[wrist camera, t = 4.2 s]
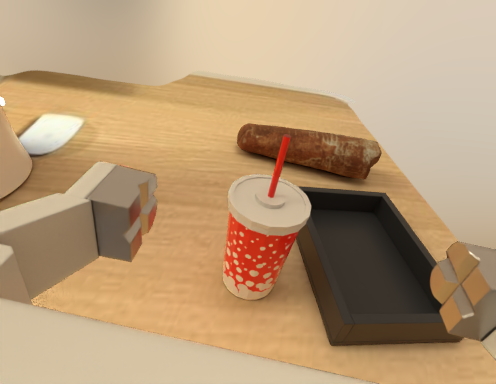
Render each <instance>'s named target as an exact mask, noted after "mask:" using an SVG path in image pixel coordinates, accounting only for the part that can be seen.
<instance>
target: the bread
mask: <svg viewBox="0 0 496 384" xmlns="http://www.w3.org/2000/svg"><path fill="white" fill-rule="evenodd" d="M284 134H288V135H290V136H291V138H290V142H289V145H288V149H287V152H286V156H285V160H284V161H286V162H291V163H296V164H300V165H304V166H309V167H313V168H317V169H320V170H325V171H328V172H332V173H335V174H339V175H343V176H347V177H351V178H360V179H366V178H367V176H368V174H369V172H370V168H371V167H372V166H373V165H374V164H376V163H377V162H378V160H379V158H380V156H381V150H380V147H379V146H378V143H377V142H375V141H372V140H366V139H362V138H356V137H349V136H344V135H336V134H330V133H322V132H316V131H310V130H300V129H292V128H285V127H278V126H267V125H257V124H249V123H248V124H246V125H244V126H243V127H242V128H241V129H240V131H239V133H238V138H237V144H238V146H239V147H240V148H241V149H242V150H245V151H249V152H253V153H257V154H261V155H265V156H269V157H271V158H275V159H277V158H278V155H279V151H280V147H281V143H282V140H283V136H284Z"/></svg>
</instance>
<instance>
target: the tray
mask: <svg viewBox="0 0 496 384" xmlns="http://www.w3.org/2000/svg"><path fill="white" fill-rule="evenodd" d="M298 187H299V186H298ZM299 188H300V189H301V190H302V191H303V192H304V193H305V194H306V195H307V197H308V199H309V201H310V204H311V211H310V216H309V219H308V220H307V222H306V224H305V225H304V226H303V227H302V228H301V229H300V230H299V232H298V234H297V236H296V239H297V242H298V245H299V249H300V252H301V255H302V258H303V261H304V264H305V267H306V270H307V273H308V276H309V279H310V282H311V285H312V288H313V292H314V295H315V298H316V301H317V304H318V307H319V310H320V313H321V316H322V319H323V322H324V325H325V328H326V331H327V335H328V338H329V341H330V344H331V345H364V344H399V343H434V342H459V341H461V340H462V338H464V337H461V336H457V335H453V334H449V333H448V331H447V329H446V326H445V324H444V321H443V319H442V316H441V314H440V311H439V310H440V308H441V306H442V304H441V303H440V302H439V301H438V300H437V299H436V298H435V297H434V296H433V294H432V291H431V288H430V277H431V272H432V270H433V269H434V267H435V266H436V264H437V263H436V261H435V260H434V259H433V257H432V256H431V254H430V253H429V252H428V250H427V249H426V248H425V246H424V245H423V244H422V242H421V241H420V239H419V238H418V237H417V235H416V234H415V233H414V231H413V230H412V229H411V227H410V226H409V224H408V223H407V222H406V220H405V219H404V218H403V216H402V215H401V214H400V212H399V211H398V209H397V208H396V207H395V205H394V204H393V203H392V201H391V200H390V199H389V197H388V196H387V194H386V193H379V192H366V191H353V190H340V189H326V188H313V187H299Z"/></svg>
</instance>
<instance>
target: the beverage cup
mask: <svg viewBox="0 0 496 384" xmlns="http://www.w3.org/2000/svg"><path fill="white" fill-rule="evenodd" d="M290 138H291V136H290V135H288V134H284V136H283V140H282V143H281V147H280V151H279V155H278V158H277V162H276V166H275V169H274V173H273V176H272V175H262V174H253V175H247V176H243V177H241V178H239V179H237V180H236V181H234V182H233V183H232V185H231V187H230V188H229V190H228V198H227V202H228V210H229V218H228V227H227V236H226V245H225V255H224V264H223V282H224V284H225V286H226V287H227V289H228V290H229V291H230V292H231V293H233V294H234V295H235V296H237V297H240V298H243V299H246V300H257V299H260V298H263V297H265V296H266V295H267V294H268V293H269V292H270V291H271V290H272V288H273V286H274V284H275V282H276V280H277V277H278V275H279V273H280V271H281V269H282V267H283V264H284V262H285V260H286V258H287V256H288V254H289V252H290V249H291V247H292V245H293V243H294V241H295V239H296V236H297V234H298V232H299V230H300V229H301V228H302V227H303V226H304V225H305V224H306V222H307V220H308V219H309V216H310V211H311V204H310V201H309V199H308V197H307V195H306V194H305V193H304V192H303V191H302V190H301V189H300V188H299V187H298V186H296V185H294V184H292V183H291V182H289V181H287V180H285V179H282V178H279V177H280V174H281V170H282V167H283V163H284V160H285V156H286V152H287V149H288V145H289V142H290Z"/></svg>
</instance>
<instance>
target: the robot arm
mask: <svg viewBox="0 0 496 384" xmlns="http://www.w3.org/2000/svg"><path fill="white" fill-rule="evenodd" d="M2 105H5V103H4V99H3V98H2V97H0V199H1V198H3V197H5V196H6V195H8V194H9V193H11V192H12V191H14V190H15V189H16V188H18V187H19V186H20V185H21V184H22V183H23V182H24V181H25V180H26V179H27V177H28V176H29V174H30V172H31V169H32V160H31V157H30V156H29V154H28V153H27V151H26V150H25V149H24V147H23V146H22V144H21V143H20V141H19V139H18V138H17V136H16V134H15V132H14V131H13V129H12V127H11V125H10V123H9V121H8V119H7V116H6V114H5V112H4V110H3V108H2ZM156 188H157V176H156V175H155V174H153V173H149V172H145V171H141V170H137V169H133V168H129V167H125V166H121V165H116V164H112V163H107V162H103V161H100V162H96V163H95V164H94V165H93V166H92V167H91V168H90V169H89V170H88V171H87V172H86V173H85V174H84V175H83V176H82V177H81V178H80V179H79V180H77V181H76V182H75V183H74V184H73V185H72V186H71V187H70V188H69V189H68V190H67V191H66V192H65V193H64V194H60V193H55V194H52V195H49V196H46V197H43V198H40V199H36V200H33V201H30V202H27V203H24V204H21V205H17V206H14V207H11V208H8V209H5V210H2V211H0V384H379V383H374V382H370V381H365V380H361V379H357V378H352V377H348V376H343V375H339V374H335V373H330V372H326V371H321V370H317V369H312V368H308V367H304V366H299V365H295V364H290V363H286V362H282V361H277V360H273V359H268V358H264V357H260V356H255V355H251V354H246V353H242V352H238V351H233V350H229V349H224V348H220V347H216V346H211V345H207V344H202V343H198V342H193V341H189V340H185V339H180V338H176V337H171V336H167V335H162V334H158V333H154V332H149V331H145V330H140V329H136V328H132V327H127V326H123V325H118V324H114V323H109V322H105V321H101V320H96V319H92V318H87V317H83V316H78V315H74V314H70V313H65V312H61V311H56V310H52V309H47V308H43V307H39V306H34V305H33V304H32V301H31V299H33V298H34V297H36V296H38V295H39V294H41V293H43V292H44V291H46V290H47V289H49V288H51V287H52V286H54V285H55V284H57V283H59V282H60V281H62V280H63V279H65V278H67V277H68V276H70V275H71V274H73V273H75V272H76V271H78V270H80V269H81V268H83V267H84V266H86V265H88V264H89V263H91V262H92V261H94V260H96V259H97V258H99V256H103V257H108V258H113V259H118V260H123V261H128V262H132V260H133V258H134V257H135V255H136V253H137V251H138V250H139V248H140V246H141V245H142V235H144V234H146V233H148V232H149V230H150V229H151V227H152V225H153V222H154V219H155V216H156V210H157V199H156V198H155V197H154V195H153V193H154V192H155V190H156ZM446 254H447V259H445V260H442V261H440V262H438V263H437V264H436V266H435V267H434V269H433V270H432V272H431V277H430V288H431V291H432V294H433V296H434V297H435V298H436V299H437V300H438V301H439V302H440V303H441V304H442V306H441V308H440V310H439V311H440V314H441V316H442V319H443V321H444V324H445V326H446V329H447V331H448V333H449V334H453V335H457V336H461V337H465V338H469V339H473V340H477V341H481V344H482V345H483V346H484V347H485V349H486V350H487V351H488V352H489V353H490V354H491V355H492V357H493V358H494V359H495V360H496V249H490V248H486V247H481V246H476V245H472V244H467V243H462V242H458V241H457V242H455V243H454V244H452V245H451V246H450V247H449V248H448V250H447V251H446Z"/></svg>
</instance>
